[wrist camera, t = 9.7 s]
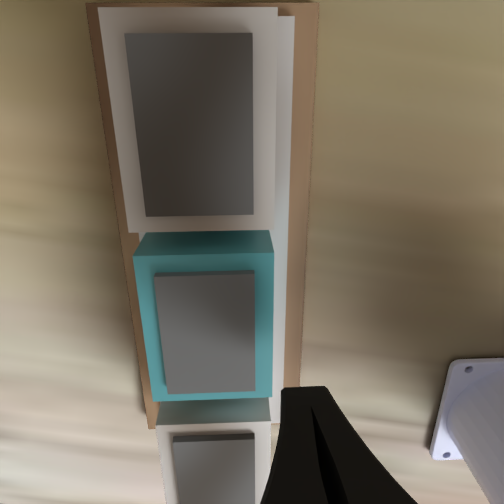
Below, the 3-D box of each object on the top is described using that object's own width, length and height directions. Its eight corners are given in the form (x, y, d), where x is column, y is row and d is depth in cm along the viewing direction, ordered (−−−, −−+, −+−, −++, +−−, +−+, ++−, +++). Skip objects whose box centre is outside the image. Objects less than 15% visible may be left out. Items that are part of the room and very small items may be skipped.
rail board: (315, 6, 16) (374, -44, 10) (295, 413, 25) (318, 539, 18) (92, 6, 16) (-13, -45, 9) (150, 418, 25) (119, 548, 18)
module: (262, 199, 18) (275, 256, 13) (262, 312, 21) (272, 403, 15) (162, 201, 18) (130, 260, 12) (174, 315, 21) (151, 407, 15)
